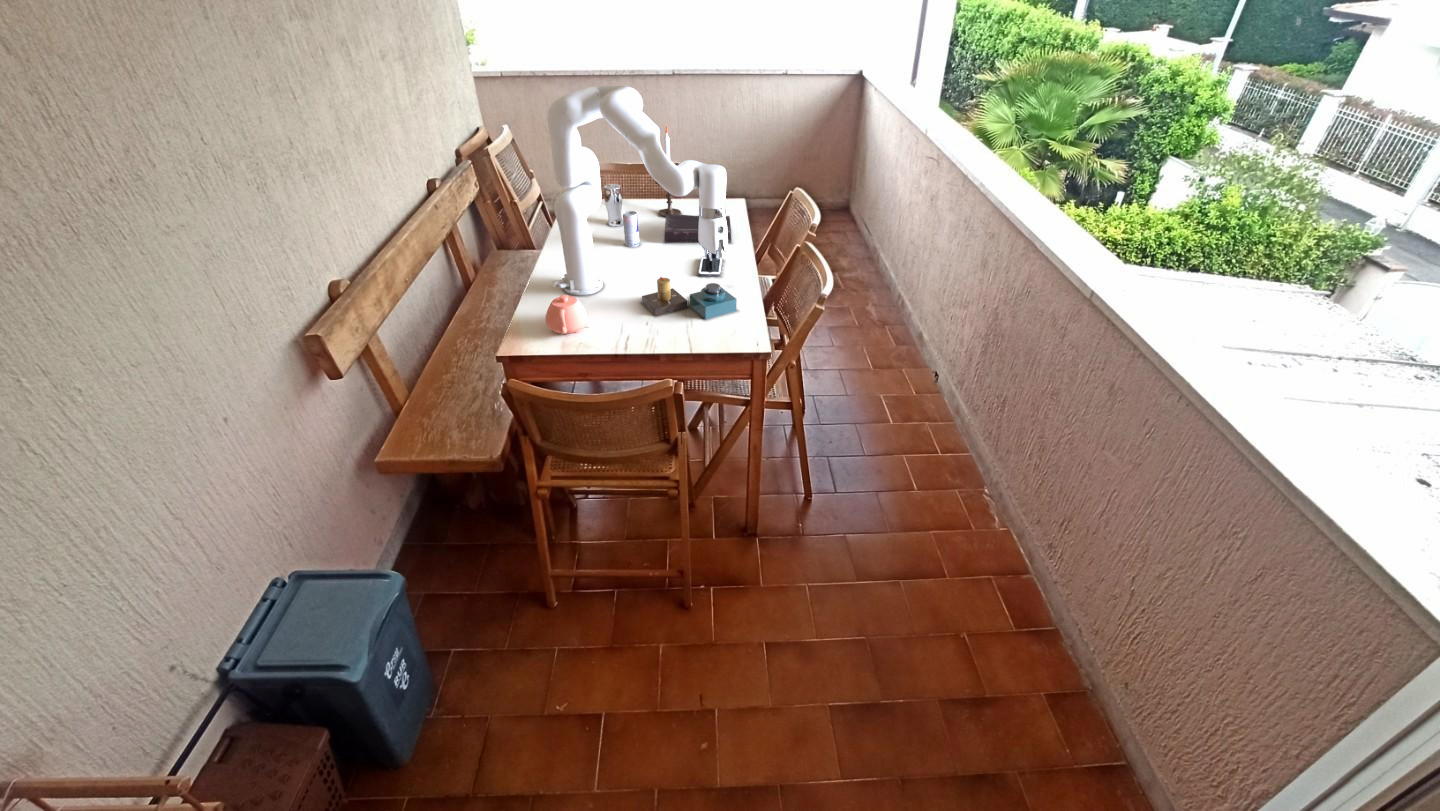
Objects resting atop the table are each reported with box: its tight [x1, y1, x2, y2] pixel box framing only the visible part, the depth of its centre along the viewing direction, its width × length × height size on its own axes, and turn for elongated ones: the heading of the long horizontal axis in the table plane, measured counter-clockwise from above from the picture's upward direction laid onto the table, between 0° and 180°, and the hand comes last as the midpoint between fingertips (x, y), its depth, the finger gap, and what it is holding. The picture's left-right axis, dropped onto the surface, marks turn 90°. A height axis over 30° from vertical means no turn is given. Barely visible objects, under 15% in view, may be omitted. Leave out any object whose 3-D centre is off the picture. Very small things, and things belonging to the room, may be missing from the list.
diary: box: [663, 214, 732, 244], centre depth 248 cm, size 19×25×5 cm
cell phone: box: [698, 256, 724, 277], centre depth 224 cm, size 8×15×1 cm, turn 177°
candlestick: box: [654, 124, 682, 219], centre depth 257 cm, size 11×11×35 cm
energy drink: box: [622, 210, 641, 248], centre depth 238 cm, size 5×5×12 cm
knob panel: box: [641, 288, 689, 317], centre depth 201 cm, size 11×10×3 cm
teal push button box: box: [689, 286, 737, 320], centre depth 199 cm, size 11×10×6 cm
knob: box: [656, 276, 672, 301], centre depth 199 cm, size 4×4×6 cm
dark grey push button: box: [705, 282, 721, 295], centre depth 196 cm, size 4×4×2 cm
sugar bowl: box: [545, 294, 589, 335], centre depth 187 cm, size 12×14×10 cm
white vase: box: [603, 183, 624, 228], centre depth 254 cm, size 7×7×15 cm
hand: (711, 270), depth 193 cm, fingers closed
